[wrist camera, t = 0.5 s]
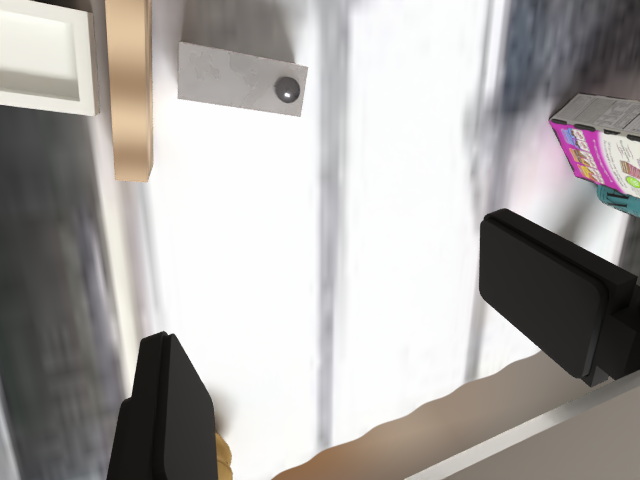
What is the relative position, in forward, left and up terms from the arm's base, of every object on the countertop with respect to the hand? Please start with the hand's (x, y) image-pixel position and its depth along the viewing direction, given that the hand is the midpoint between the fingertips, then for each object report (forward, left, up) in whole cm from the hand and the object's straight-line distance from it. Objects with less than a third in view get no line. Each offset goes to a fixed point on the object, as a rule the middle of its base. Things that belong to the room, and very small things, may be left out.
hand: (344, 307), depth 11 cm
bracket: (-3, -18, -30) cm, 35 cm away
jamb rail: (-3, -9, -30) cm, 31 cm away
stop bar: (-4, -1, -30) cm, 30 cm away
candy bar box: (-4, +43, -30) cm, 52 cm away
